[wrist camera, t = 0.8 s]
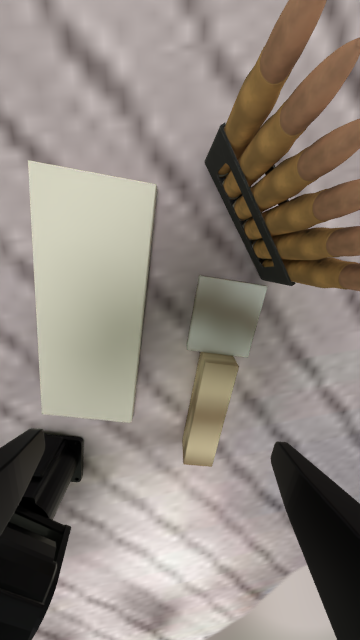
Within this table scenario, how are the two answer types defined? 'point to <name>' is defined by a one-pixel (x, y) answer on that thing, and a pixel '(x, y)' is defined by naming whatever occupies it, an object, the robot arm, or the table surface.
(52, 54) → the table surface
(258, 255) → the ammunition clip
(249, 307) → the turner
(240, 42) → the table surface
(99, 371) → the board
